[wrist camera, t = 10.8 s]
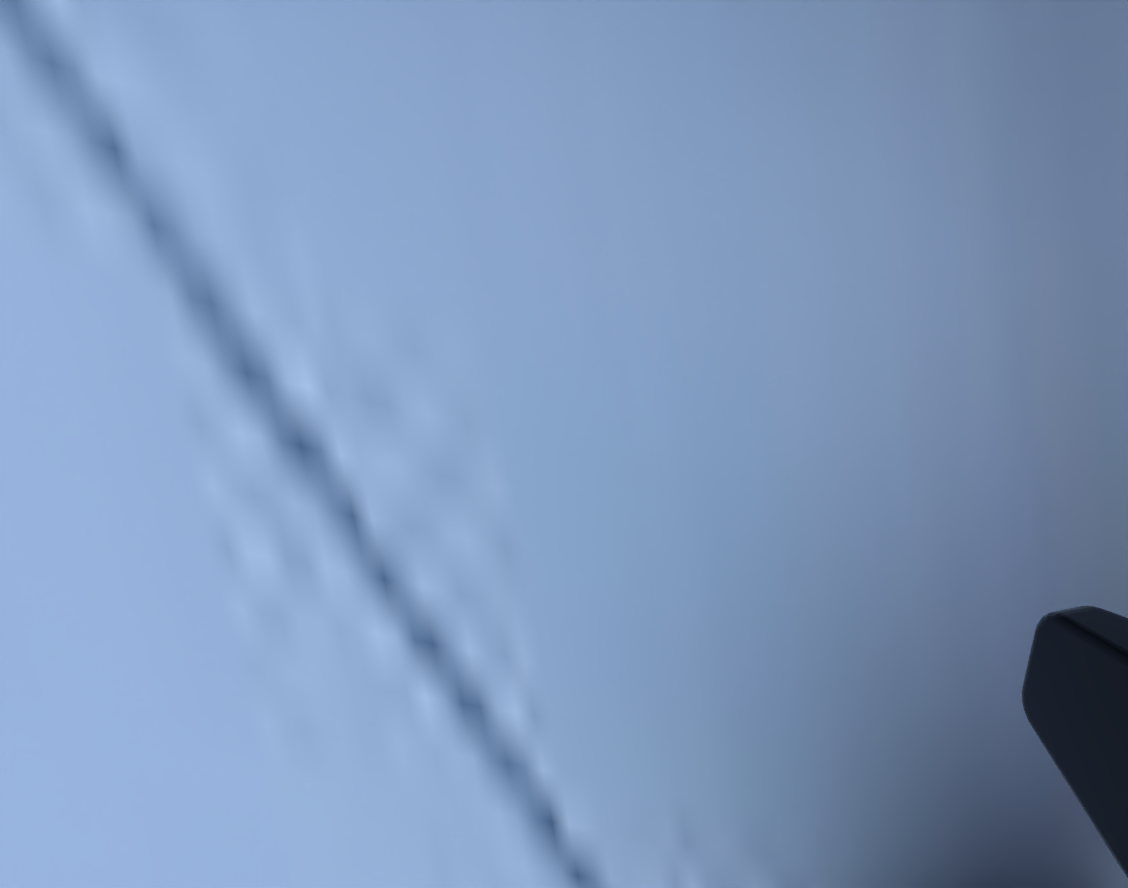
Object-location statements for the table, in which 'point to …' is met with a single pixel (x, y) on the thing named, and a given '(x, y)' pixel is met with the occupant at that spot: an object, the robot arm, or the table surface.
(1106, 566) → the table surface
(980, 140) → the table surface
